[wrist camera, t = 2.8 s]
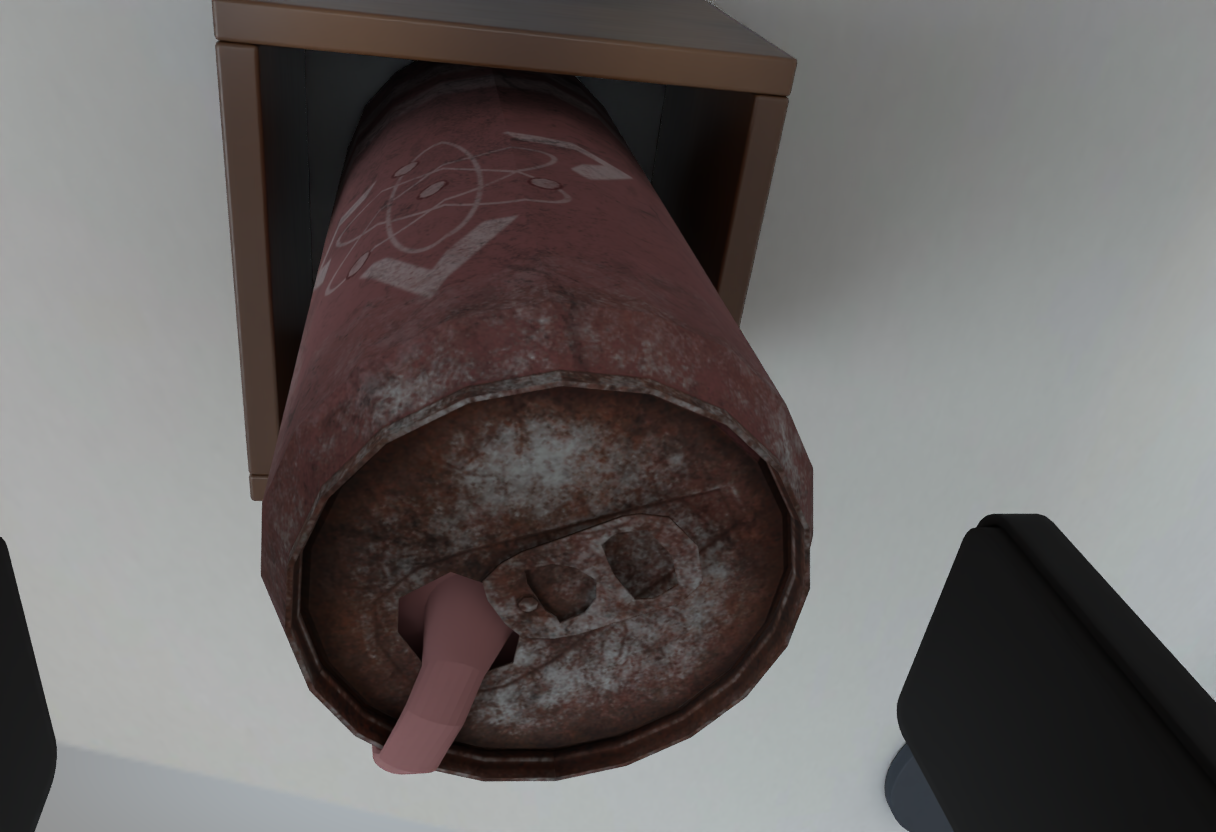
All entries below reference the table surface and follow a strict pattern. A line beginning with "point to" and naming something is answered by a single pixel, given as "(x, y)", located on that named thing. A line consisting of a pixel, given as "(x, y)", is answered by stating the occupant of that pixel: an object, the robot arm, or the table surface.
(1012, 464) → the table surface
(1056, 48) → the table surface
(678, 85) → the holder
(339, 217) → the can
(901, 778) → the coaster
